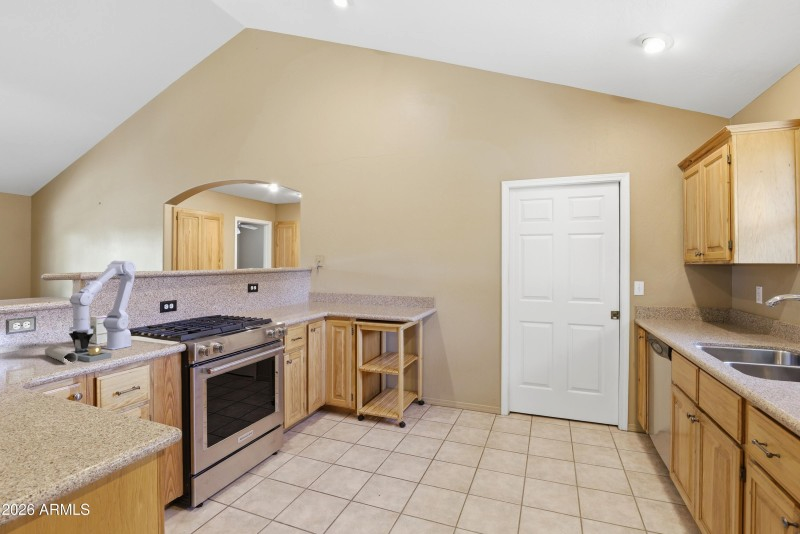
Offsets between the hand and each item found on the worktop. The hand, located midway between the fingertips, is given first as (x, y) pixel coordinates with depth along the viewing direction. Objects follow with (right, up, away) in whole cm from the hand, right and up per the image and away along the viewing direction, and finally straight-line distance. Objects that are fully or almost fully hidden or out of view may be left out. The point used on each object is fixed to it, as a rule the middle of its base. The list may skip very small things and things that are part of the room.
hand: (81, 348), depth 181 cm
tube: (-5, -4, -6) cm, 9 cm away
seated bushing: (+9, -4, -4) cm, 11 cm away
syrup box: (-12, -3, +27) cm, 30 cm away
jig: (+5, -4, -2) cm, 6 cm away
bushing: (0, -3, 0) cm, 3 cm away
